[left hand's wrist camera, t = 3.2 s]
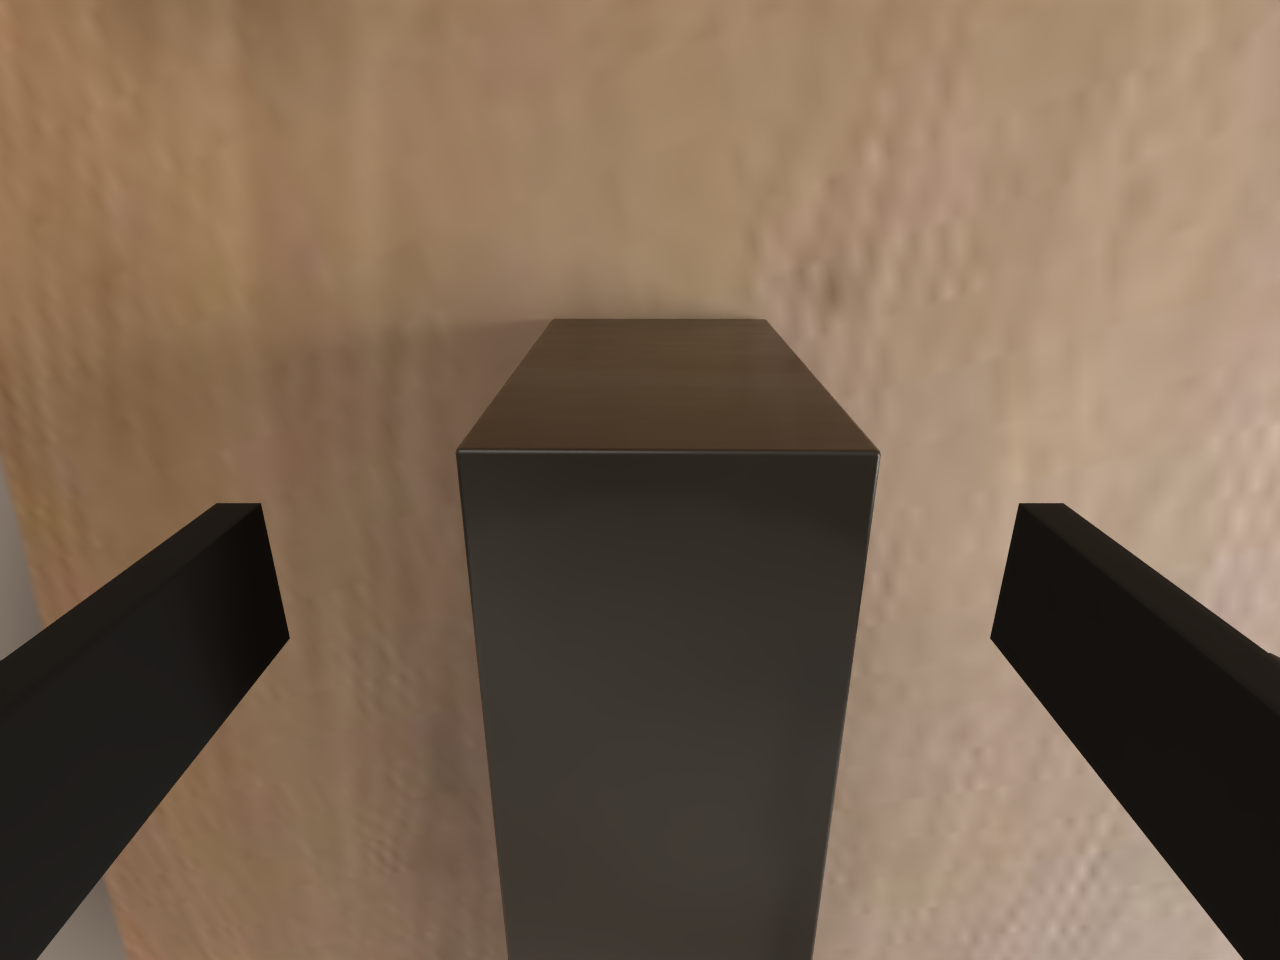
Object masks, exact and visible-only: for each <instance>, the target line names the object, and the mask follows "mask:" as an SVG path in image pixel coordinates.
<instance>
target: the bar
mask: <svg viewBox="0 0 1280 960" xmlns="http://www.w3.org/2000/svg"><path fill="white" fill-rule="evenodd" d="M880 456H881V454H880V451H879V450H878V449H877V448H876V446H875V445H874V444H873V443H872V442H871V441H870V439H869V438H868V437H867V436H866V435H865V434H864V432H863V431H862V430H861V429H860V428H859V427H858V426H857V424H856V423H855V422H854V421H853V420H852V419H851V417H850V416H849V415H848V414H847V413H846V412H845V411H844V409H843V408H842V407H841V406H840V405H839V404H838V402H837V401H836V400H835V399H834V398H833V397H832V396H831V394H830V393H829V392H828V391H827V390H826V389H825V387H824V386H823V385H822V384H821V383H820V382H819V381H818V379H817V378H816V377H815V376H814V375H813V374H812V372H811V371H810V370H809V369H808V368H807V367H806V365H805V364H804V363H803V362H802V361H801V360H800V359H799V357H798V356H797V355H796V354H795V353H794V352H793V350H792V349H791V348H790V347H789V346H788V345H787V344H786V342H785V341H784V340H783V339H782V338H781V337H780V335H779V334H778V333H777V332H776V331H775V330H774V329H773V327H772V326H771V325H770V324H769V323H768V322H767V320H729V319H554V320H552V322H551V323H550V324H549V326H548V327H547V328H546V330H545V331H544V332H543V334H542V335H541V336H540V338H539V339H538V340H537V342H536V343H535V344H534V346H533V347H532V349H531V350H530V351H529V353H528V354H527V355H526V357H525V358H524V359H523V361H522V362H521V363H520V365H519V366H518V367H517V369H516V370H515V371H514V373H513V374H512V375H511V377H510V378H509V380H508V381H507V382H506V384H505V385H504V386H503V388H502V389H501V390H500V392H499V393H498V394H497V396H496V397H495V398H494V400H493V401H492V402H491V404H490V405H489V406H488V408H487V409H486V411H485V412H484V413H483V415H482V416H481V417H480V419H479V420H478V421H477V423H476V424H475V425H474V427H473V428H472V429H471V431H470V432H469V433H468V435H467V436H466V438H465V439H464V440H463V442H462V443H461V444H460V446H459V447H458V448H457V450H456V460H457V469H458V479H459V489H460V498H461V508H462V518H463V527H464V537H465V547H466V556H467V566H468V575H469V585H470V595H471V604H472V614H473V624H474V633H475V643H476V653H477V662H478V672H479V681H480V691H481V701H482V710H483V720H484V730H485V739H486V749H487V758H488V768H489V778H490V787H491V797H492V807H493V816H494V826H495V836H496V845H497V855H498V864H499V874H500V884H501V893H502V903H503V913H504V922H505V932H506V942H507V951H508V960H812V958H813V950H814V943H815V935H816V928H817V921H818V913H819V906H820V899H821V891H822V884H823V876H824V869H825V862H826V854H827V847H828V840H829V832H830V825H831V817H832V810H833V803H834V795H835V788H836V781H837V773H838V766H839V759H840V751H841V744H842V736H843V729H844V722H845V714H846V707H847V700H848V692H849V685H850V677H851V670H852V663H853V655H854V648H855V641H856V633H857V626H858V618H859V611H860V604H861V596H862V589H863V582H864V574H865V567H866V559H867V552H868V545H869V537H870V530H871V523H872V515H873V508H874V500H875V493H876V486H877V478H878V471H879V464H880Z"/></svg>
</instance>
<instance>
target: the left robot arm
mask: <svg viewBox="0 0 1280 960" xmlns="http://www.w3.org/2000/svg"><path fill="white" fill-rule="evenodd" d="M289 639H290V637H289V632H288V627H287V623H286V618H285V613H284V609H283V604H282V599H281V595H280V590H279V585H278V581H277V576H276V571H275V567H274V562H273V557H272V553H271V548H270V543H269V539H268V534H267V529H266V525H265V520H264V516H263V511H262V506H261V503H216V504H215V505H214V506H212V507H211V508H210V509H208V510H207V511H205V512H204V513H203V514H201V515H200V516H199V517H197V518H196V519H195V520H193V521H192V522H190V523H189V524H188V525H186V526H185V527H184V528H182V529H181V530H179V531H178V532H177V533H175V534H174V535H173V536H171V537H170V538H169V539H167V540H166V541H164V542H163V543H162V544H160V545H159V546H158V547H156V548H155V549H154V550H152V551H151V552H149V553H148V554H147V555H145V556H144V557H143V558H141V559H140V560H138V561H137V562H136V563H134V564H133V565H132V566H130V567H129V568H128V569H126V570H125V571H123V572H122V573H121V574H119V575H118V576H117V577H115V578H114V579H112V580H111V581H110V582H108V583H107V584H106V585H104V586H103V587H102V588H100V589H99V590H97V591H96V592H95V593H93V594H92V595H91V596H89V597H88V598H86V599H85V600H84V601H82V602H81V603H80V604H78V605H77V606H76V607H74V608H73V609H71V610H70V611H69V612H67V613H66V614H65V615H63V616H62V617H60V618H59V619H58V620H56V621H55V622H54V623H52V624H51V625H50V626H48V627H47V628H45V629H44V630H43V631H41V632H40V633H39V634H37V635H36V636H35V637H33V638H32V639H30V640H29V641H28V642H26V643H25V644H24V645H22V646H21V647H19V648H18V649H17V650H15V651H14V652H13V653H11V654H10V655H8V656H7V657H6V658H4V659H3V660H1V661H0V960H37V958H38V957H39V956H40V954H41V953H42V952H43V951H44V949H45V948H46V947H47V946H48V944H49V943H50V942H51V940H52V939H53V938H54V937H55V935H56V934H57V933H58V932H59V930H60V929H61V928H62V927H63V925H64V924H65V923H66V921H67V920H68V919H69V918H70V916H71V915H72V914H73V913H74V911H75V910H76V909H77V907H78V906H79V905H80V904H81V902H82V901H83V900H84V899H85V897H86V896H87V895H88V894H89V892H90V891H91V890H92V888H93V887H94V886H95V885H96V883H97V882H98V881H99V880H100V878H101V877H102V876H103V875H104V873H105V872H106V871H107V869H108V868H109V867H110V866H111V864H112V863H113V862H114V861H115V859H116V858H117V857H118V856H119V854H120V853H121V852H122V850H123V849H124V848H125V847H126V845H127V844H128V843H129V842H130V840H131V839H132V838H133V836H134V835H135V834H136V833H137V831H138V830H139V829H140V828H141V826H142V825H143V824H144V823H145V821H146V820H147V819H148V817H149V816H150V815H151V814H152V812H153V811H154V810H155V809H156V807H157V806H158V805H159V804H160V802H161V801H162V800H163V798H164V797H165V796H166V795H167V793H168V792H169V791H170V790H171V788H172V787H173V786H174V784H175V783H176V782H177V781H178V779H179V778H180V777H181V776H182V774H183V773H184V772H185V771H186V769H187V768H188V767H189V765H190V764H191V763H192V762H193V760H194V759H195V758H196V757H197V755H198V754H199V753H200V751H201V750H202V749H203V748H204V746H205V745H206V744H207V743H208V741H209V740H210V739H211V738H212V736H213V735H214V734H215V732H216V731H217V730H218V729H219V727H220V726H221V725H222V724H223V722H224V721H225V720H226V719H227V717H228V716H229V715H230V713H231V712H232V711H233V710H234V708H235V707H236V706H237V705H238V703H239V702H240V701H241V699H242V698H243V697H244V696H245V694H246V693H247V692H248V691H249V689H250V688H251V687H252V686H253V684H254V683H255V682H256V680H257V679H258V678H259V677H260V675H261V674H262V673H263V672H264V670H265V669H266V668H267V666H268V665H269V664H270V663H271V661H272V660H273V659H274V658H275V656H276V655H277V654H278V653H279V651H280V650H281V649H282V647H283V646H284V645H285V644H286V642H287V641H288V640H289ZM990 639H991V640H992V641H993V642H994V644H995V645H996V646H997V647H998V649H999V650H1000V651H1001V653H1002V654H1003V655H1004V656H1005V658H1006V659H1007V660H1008V661H1009V663H1010V664H1011V665H1012V666H1013V668H1014V669H1015V670H1016V672H1017V673H1018V674H1019V675H1020V677H1021V678H1022V679H1023V680H1024V682H1025V683H1026V684H1027V686H1028V687H1029V688H1030V689H1031V691H1032V692H1033V693H1034V694H1035V696H1036V697H1037V698H1038V699H1039V701H1040V702H1041V703H1042V705H1043V706H1044V707H1045V708H1046V710H1047V711H1048V712H1049V713H1050V715H1051V716H1052V717H1053V719H1054V720H1055V721H1056V722H1057V724H1058V725H1059V726H1060V727H1061V729H1062V730H1063V731H1064V732H1065V734H1066V735H1067V736H1068V738H1069V739H1070V740H1071V741H1072V743H1073V744H1074V745H1075V746H1076V748H1077V749H1078V750H1079V751H1080V753H1081V754H1082V755H1083V757H1084V758H1085V759H1086V760H1087V762H1088V763H1089V764H1090V765H1091V767H1092V768H1093V769H1094V771H1095V772H1096V773H1097V774H1098V776H1099V777H1100V778H1101V779H1102V781H1103V782H1104V783H1105V784H1106V786H1107V787H1108V788H1109V790H1110V791H1111V792H1112V793H1113V795H1114V796H1115V797H1116V798H1117V800H1118V801H1119V802H1120V804H1121V805H1122V806H1123V807H1124V809H1125V810H1126V811H1127V812H1128V814H1129V815H1130V816H1131V817H1132V819H1133V820H1134V821H1135V823H1136V824H1137V825H1138V826H1139V828H1140V829H1141V830H1142V831H1143V833H1144V834H1145V835H1146V836H1147V838H1148V839H1149V840H1150V842H1151V843H1152V844H1153V845H1154V847H1155V848H1156V849H1157V850H1158V852H1159V853H1160V854H1161V856H1162V857H1163V858H1164V859H1165V861H1166V862H1167V863H1168V864H1169V866H1170V867H1171V868H1172V869H1173V871H1174V872H1175V873H1176V875H1177V876H1178V877H1179V878H1180V880H1181V881H1182V882H1183V883H1184V885H1185V886H1186V887H1187V888H1188V890H1189V891H1190V892H1191V894H1192V895H1193V896H1194V897H1195V899H1196V900H1197V901H1198V902H1199V904H1200V905H1201V906H1202V908H1203V909H1204V910H1205V911H1206V913H1207V914H1208V915H1209V916H1210V918H1211V919H1212V920H1213V921H1214V923H1215V924H1216V925H1217V927H1218V928H1219V929H1220V930H1221V932H1222V933H1223V934H1224V935H1225V937H1226V938H1227V939H1228V941H1229V942H1230V943H1231V944H1232V946H1233V947H1234V948H1235V949H1236V951H1237V952H1238V953H1239V954H1240V956H1241V957H1242V958H1243V960H1280V658H1279V657H1277V656H1275V655H1273V654H1271V653H1267V652H1266V651H1265V650H1263V649H1262V648H1261V647H1259V646H1258V645H1256V644H1255V643H1254V642H1252V641H1251V640H1250V639H1248V638H1247V637H1246V636H1244V635H1243V634H1241V633H1240V632H1239V631H1237V630H1236V629H1235V628H1233V627H1232V626H1230V625H1229V624H1228V623H1226V622H1225V621H1224V620H1222V619H1221V618H1220V617H1218V616H1217V615H1215V614H1214V613H1213V612H1211V611H1210V610H1209V609H1207V608H1206V607H1204V606H1203V605H1202V604H1200V603H1199V602H1198V601H1196V600H1195V599H1194V598H1192V597H1191V596H1189V595H1188V594H1187V593H1185V592H1184V591H1183V590H1181V589H1180V588H1178V587H1177V586H1176V585H1174V584H1173V583H1172V582H1170V581H1169V580H1168V579H1166V578H1165V577H1163V576H1162V575H1161V574H1159V573H1158V572H1157V571H1155V570H1154V569H1152V568H1151V567H1150V566H1148V565H1147V564H1146V563H1144V562H1143V561H1142V560H1140V559H1139V558H1137V557H1136V556H1135V555H1133V554H1132V553H1131V552H1129V551H1128V550H1126V549H1125V548H1124V547H1122V546H1121V545H1120V544H1118V543H1117V542H1116V541H1114V540H1113V539H1111V538H1110V537H1109V536H1107V535H1106V534H1105V533H1103V532H1102V531H1100V530H1099V529H1098V528H1096V527H1095V526H1094V525H1092V524H1091V523H1090V522H1088V521H1087V520H1085V519H1084V518H1083V517H1081V516H1080V515H1079V514H1077V513H1076V512H1075V511H1073V510H1072V509H1070V508H1069V507H1068V506H1066V505H1065V504H1064V503H1019V506H1018V511H1017V515H1016V520H1015V525H1014V529H1013V534H1012V539H1011V543H1010V548H1009V553H1008V557H1007V562H1006V567H1005V571H1004V576H1003V581H1002V585H1001V590H1000V595H999V599H998V604H997V609H996V613H995V618H994V623H993V627H992V632H991V637H990Z"/></svg>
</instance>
